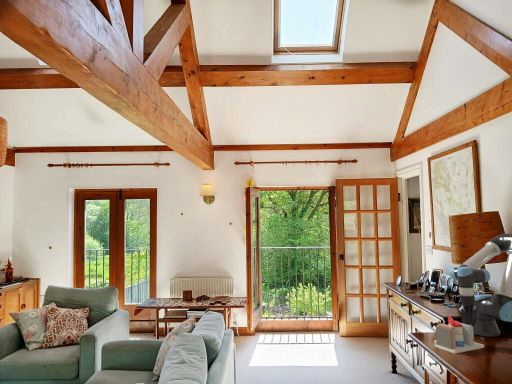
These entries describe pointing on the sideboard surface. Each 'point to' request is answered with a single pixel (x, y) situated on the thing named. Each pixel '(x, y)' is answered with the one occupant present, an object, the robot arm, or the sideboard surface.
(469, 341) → the bookend
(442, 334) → the rack
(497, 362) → the sideboard surface
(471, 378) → the sideboard surface
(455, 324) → the ink box
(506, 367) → the sideboard surface
